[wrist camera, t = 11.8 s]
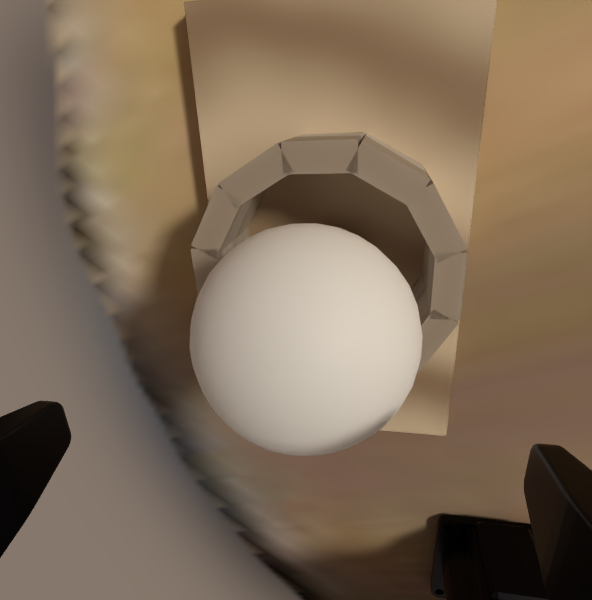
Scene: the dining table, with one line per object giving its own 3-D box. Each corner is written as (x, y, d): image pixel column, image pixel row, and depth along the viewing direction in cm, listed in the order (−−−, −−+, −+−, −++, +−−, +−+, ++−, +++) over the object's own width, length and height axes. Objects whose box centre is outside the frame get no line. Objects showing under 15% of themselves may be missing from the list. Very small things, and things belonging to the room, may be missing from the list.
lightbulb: (254, 292, 21) (134, 464, 11) (283, 160, 18) (159, 228, 8) (381, 330, 20) (377, 545, 10) (429, 201, 18) (485, 324, 8)
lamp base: (443, 422, 23) (457, 501, 18) (239, 406, 25) (207, 472, 20) (493, -21, 15) (538, -74, 11) (194, 7, 17) (127, -28, 13)
